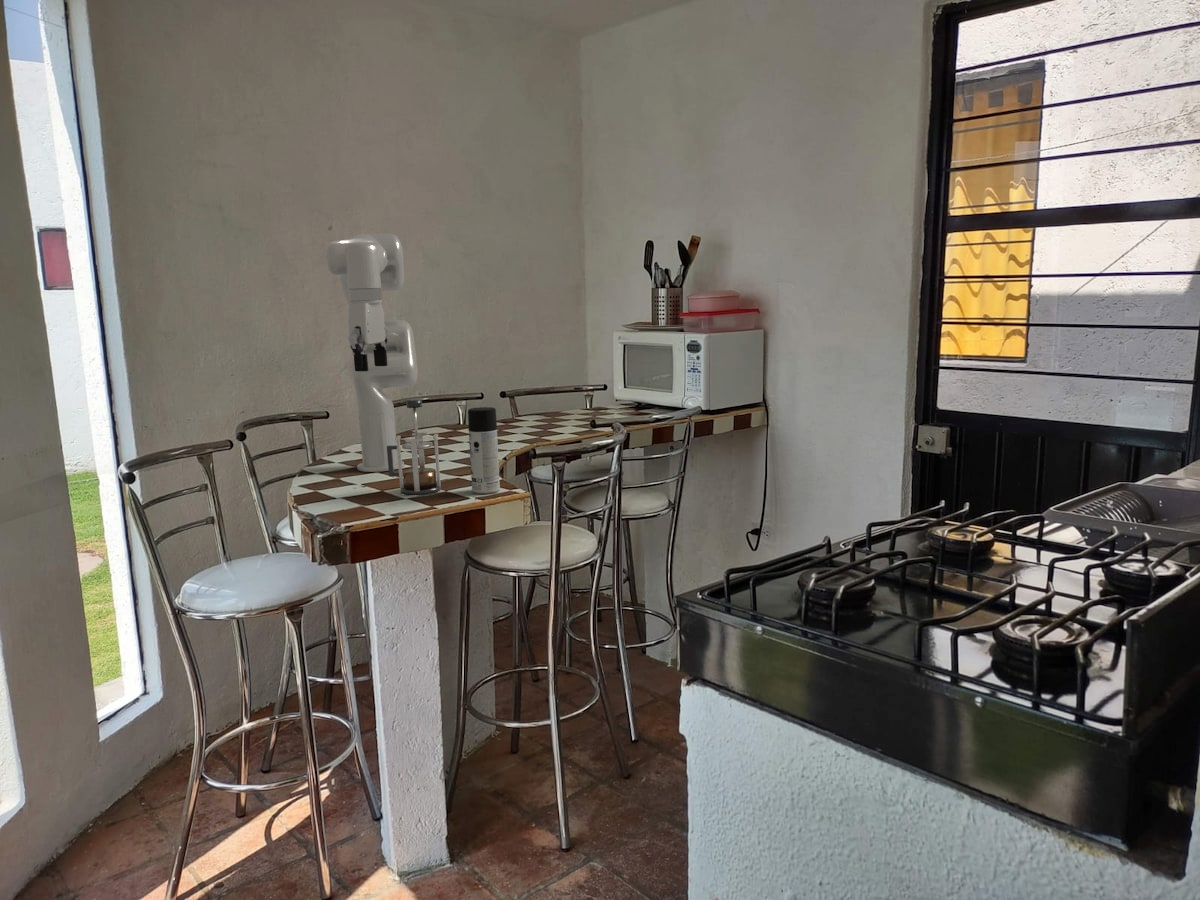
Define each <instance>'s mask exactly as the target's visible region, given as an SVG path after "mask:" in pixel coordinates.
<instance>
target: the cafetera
mask: <svg viewBox="0 0 1200 900" xmlns="http://www.w3.org/2000/svg"><path fill="white" fill-rule="evenodd" d="M411 436H412V437H413V436H414V437H415V432H412V433H411ZM423 436H428V432H427V431H426V432H425V431H424V432H418V439H415V438H405V443H409V442H411V449H410V450H411V460H412V461H411V462H412V463H411V464H412V468H410V469H406V470H404V471H403V467H402V461H403V460H402V452H401V451H402V450H401V449H402V448H401V438H402V436H401V435H399V434H398V435H396V437H395V440H396V443H397V445H394V446H392V445H388V446H387V456H388V468H389V471H388V476H389V477H399V488H400V489H399V490H400V494H401V495H403V494H404V495H403V496H409V495H419V496H427V495H433V494H436V493H438V491H439V492H440V491H441V490H442V488H441V485H442V484H441V472H440V471H441V470H440V457H439V455H440V454H439V443H438V437H439V433H434V435H433V436H432V439H433V446H434V457H435V468H433V467H432V468H431V467H426V466H425V465H426V463H425V452H424V450H425V448H423V449H417V443H416V442H421V441H424V437H423ZM393 449H397V455H398V468H399V469H398V471H395V470H394V465H393V453H392V450H393ZM401 460H402V461H401Z"/></svg>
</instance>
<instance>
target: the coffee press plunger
mask: <svg viewBox="0 0 1200 900" xmlns="http://www.w3.org/2000/svg"><path fill="white" fill-rule="evenodd" d="M405 402H406V403H405V404H406V408H407V409H412V410H413V411H412V413H413V414H412V415H413V424H414V425H413V426H414V427H413V428H414V433H415V436H414V439H418V433H419V429H418V418H417V408H422V407H423V400H422V399H416V398H415V399H408V400H406V401H405ZM416 443H417V450H418V449H423V448H424V449H427V448H431V447H433V446H434V443H433V442H432V441H425V440H423V441H421V442H416ZM401 449H405V450H411V442H405V443H402V445H401Z"/></svg>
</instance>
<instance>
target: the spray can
mask: <svg viewBox="0 0 1200 900" xmlns="http://www.w3.org/2000/svg"><path fill="white" fill-rule="evenodd" d="M467 418H468V421H467V422H468V440H469V458H470V478H471V490H472V493H473V494H477V495H489V494H494V493H498V492H499V491H500V488H501V485H500V464H499V463H500V462H499V446H498V444H499V443H498V427H497V426H498V425H497V423H498V421H497V411H496V407H487V406H484V407H482V406H481V407H472V408H469V409H468V410H467Z"/></svg>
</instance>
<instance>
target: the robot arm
mask: <svg viewBox="0 0 1200 900" xmlns="http://www.w3.org/2000/svg"><path fill="white" fill-rule="evenodd" d="M324 255H325V264H326V266H327V269H328V271H329V272H330V274H331V275H335V276H339V279H340V280H339V281H340V285H341V289H342V292H343V295H344V297H345V301H347V303H348V306H349V307H348V342H349V344H350V346H349V347H350V349H351V354H352V355H353V360H352V361H351V362H350V363H351V365H350V370H351V372H350V373H351V376H352V380H353V384H354V389H355V394H356V403H357V409H358V411H357V412H358V424H359V433H360V434H359V436H360V445H361V446H360V447H361V459H362V462H360V463H358V464H357V466H356V468H357V470H358V471H359V472H365V473H366V472H367V473H368V472H369V473H376V472H378V473H380V472H389V468H388V456H387V446H388V445H392V446H394V445H397V443H396V440H395V437H397V433H396V432H397V431H396V418H395V417H396V416H395V408H394V407H395V406H394V403H393V400H392V399H391V398H390V397H389V395H387V394H386V393H385V392H384V391H383V389H389V388H403V387H411V386H413V385H415V384H416V383H417V381H418V373H419V370H418V362H417V361H418V360H417V354H416V346H415V336H414V332H413V328H412V326H411V324H410V323H409V322H407V320H403V319H391V320H390V319H388V320H386V319H385V312H384V311H385V310H384V308H383V305H382V302H383V294H382V292H389V291H390V292H392V291H398V290H400V289H402V287H403V285H404V282H405V265H404V250H403V246H402V243H401V240H400V239H399V238H398V236H397V235H395V234H393V233H361V234H356V235H354V236H352V237H350V238H346V239H340V240H334V241H330V242H328V244H327V246H326V250H325V254H324ZM392 453H393V465H394V471H395V470H399V468H398V455H397V449H393V450H392ZM401 461H402V468H403V467H404V466H405V462H404V461H403V460H402V459H401Z"/></svg>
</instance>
